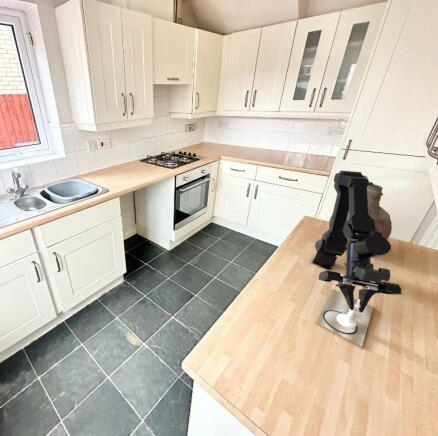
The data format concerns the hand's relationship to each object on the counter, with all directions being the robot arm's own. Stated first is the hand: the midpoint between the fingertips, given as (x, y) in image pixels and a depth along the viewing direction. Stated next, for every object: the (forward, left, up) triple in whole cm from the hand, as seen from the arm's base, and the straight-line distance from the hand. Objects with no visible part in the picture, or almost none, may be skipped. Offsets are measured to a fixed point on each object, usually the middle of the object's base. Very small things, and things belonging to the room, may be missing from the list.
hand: (356, 311), depth 72 cm
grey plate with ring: (-1, +5, -7) cm, 9 cm away
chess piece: (-1, +1, -7) cm, 7 cm away
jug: (-9, +54, -8) cm, 56 cm away
